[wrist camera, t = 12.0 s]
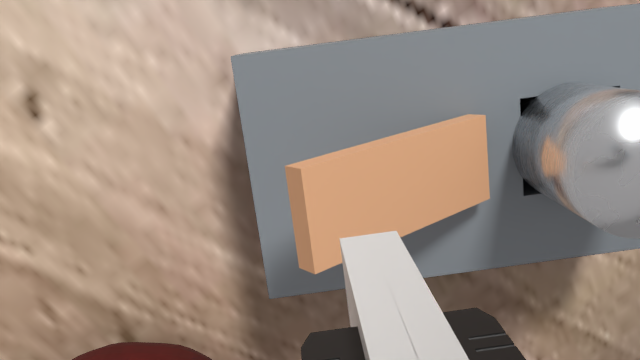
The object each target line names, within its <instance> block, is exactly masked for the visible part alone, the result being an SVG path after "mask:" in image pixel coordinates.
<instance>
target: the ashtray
mask: <svg viewBox="0 0 640 360" xmlns="http://www.w3.org/2000/svg"><path fill="white" fill-rule="evenodd" d="M72 360H212V359H210V358H209V357H207V356H205V355H203V354H201V353H199V352H197V351H195V350H193V349H191V348H187V347H184V346H181V345H174V344H166V343H141V342H128V343H117V344H111V345H108V346H105V347H102V348H99V349H96V350H93V351H89V352H87V353H85V354H82V355H80V356H78V357H76V358H74V359H72Z"/></svg>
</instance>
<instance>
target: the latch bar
mask: <svg viewBox="0 0 640 360" xmlns="http://www.w3.org/2000/svg"><path fill="white" fill-rule="evenodd" d="M285 172H286V179H287V186H288V193H289V200H290V207H291V214H292V221H293V228H294V235H295V242H296V249H297V256H298V263H299V268H301V269H303V270H306V271H308V272H310V273H313V274H317V273H320V272H322V271H324V270H327V269H329V268H331V267H333V266H336V265H338V264H340V263H342V255H341V247H340V239H339V238H346V237H354V236H361V235H368V234H376V233H383V232H390V231H397V233H398V234H399V236H400V237H403V236H405V235H407V234H410V233H412V232H414V231H416V230H419V229H421V228H423V227H426V226H428V225H430V224H433V223H435V222H437V221H439V220H442V219H444V218H446V217H449V216H451V215H453V214H456V213H458V212H460V211H463V210H465V209H467V208H469V207H472V206H474V205H476V204H479V203H481V202H483V201H486V200H488V199H490V191H489V172H488V152H487V133H486V115H473V114H467V115H463V116H460V117H456V118H453V119H449V120H446V121H442V122H439V123H435V124H432V125H428V126H424V127H421V128H417V129H414V130H410V131H407V132H403V133H400V134H396V135H393V136H389V137H385V138H382V139H378V140H375V141H371V142H368V143H364V144H361V145H357V146H354V147H350V148H346V149H343V150H339V151H336V152H332V153H329V154H325V155H322V156H318V157H315V158H311V159H308V160H304V161H300V162H297V163H293V164H290V165H286V166H285Z"/></svg>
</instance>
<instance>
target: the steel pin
mask: <svg viewBox="0 0 640 360" xmlns="http://www.w3.org/2000/svg"><path fill="white" fill-rule="evenodd" d="M520 114H521V117H520V118H519V121H518V123H517V125H516V128H515V132H514V136H513V157H514V161H515V164H516V167H517V169H518V171H519V173H520V174H521V176H522V177H523V179H524V180H525V181H526V182H527V183H528V184H529V185H530V186H531V187H533V188H534V189H536V190H537V191H539V192H540V193H542V194H544V195H545V196H547V197H549V198H550V199H552V200H554V201H555V202H557V203H559V204H560V205H562V206H564V207H565V208H567V209H569V210H570V211H572V212H574V213H575V214H577V215H578V216H580V217H582V218H583V219H585V220H587V221H588V222H590V223H592V224H593V225H595V226H597V227H598V228H600V229H602V230H603V231H605V232H607V233H609V234H612V235H615V236H618V237H623V238H633V239H638V238H640V91H639V90H632V89H625V88H618V87H611V86H603V85H596V84H589V83H580V82H573V83H565V84H561V85H558V86H555V87H552V88H550V89H548V90H546V91H545V92H543V93H541V94H540V95H539V96H536V97H529V98H521V99H520Z"/></svg>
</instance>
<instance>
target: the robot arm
mask: <svg viewBox="0 0 640 360" xmlns="http://www.w3.org/2000/svg"><path fill="white" fill-rule="evenodd" d="M339 239H340V247H341V255H342V263H343V271H344V279H345V287H346V295H347V303H348V311H349V319H350V327H349V328H342V329H335V330H328V331H321V332H314V333H310V335H309V336H308V338H307V339H306V341H305V342H304V344H303V345H302V347H301V357H302V360H526V359H525V358H524V356H523V355H522V354H521V352H520V351H519V350H518V348H517V347H516V346H514V343H513V342H512V340H511V339H510V338H509V336H508V335H506V333H505V331H504V330H503V328H502V327H501V326H500V324H499V323H498V321H497V320H496V319H495V318H494V317H492V316H490V315H489V314H487V313H485V312H483V311H481V310H480V309H478V308H471V309H464V310H457V311H450V312H442V311H441V309H440V307H439V305H438V304H437V302H436V300H435V298H434V296H433V295H432V293H431V291H430V289H429V288H428V286H427V284H426V282H425V281H424V279H423V277H422V275H421V273H420V272H419V270H418V268H417V266H416V265H415V263H414V261H413V259H412V258H411V256H410V254H409V252H408V250H407V249H406V247H405V245H404V243H403V242H402V240H401V238H400V236H399V234H398V233H397V231H390V232H383V233H376V234H368V235H361V236H354V237H346V238H339Z"/></svg>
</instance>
